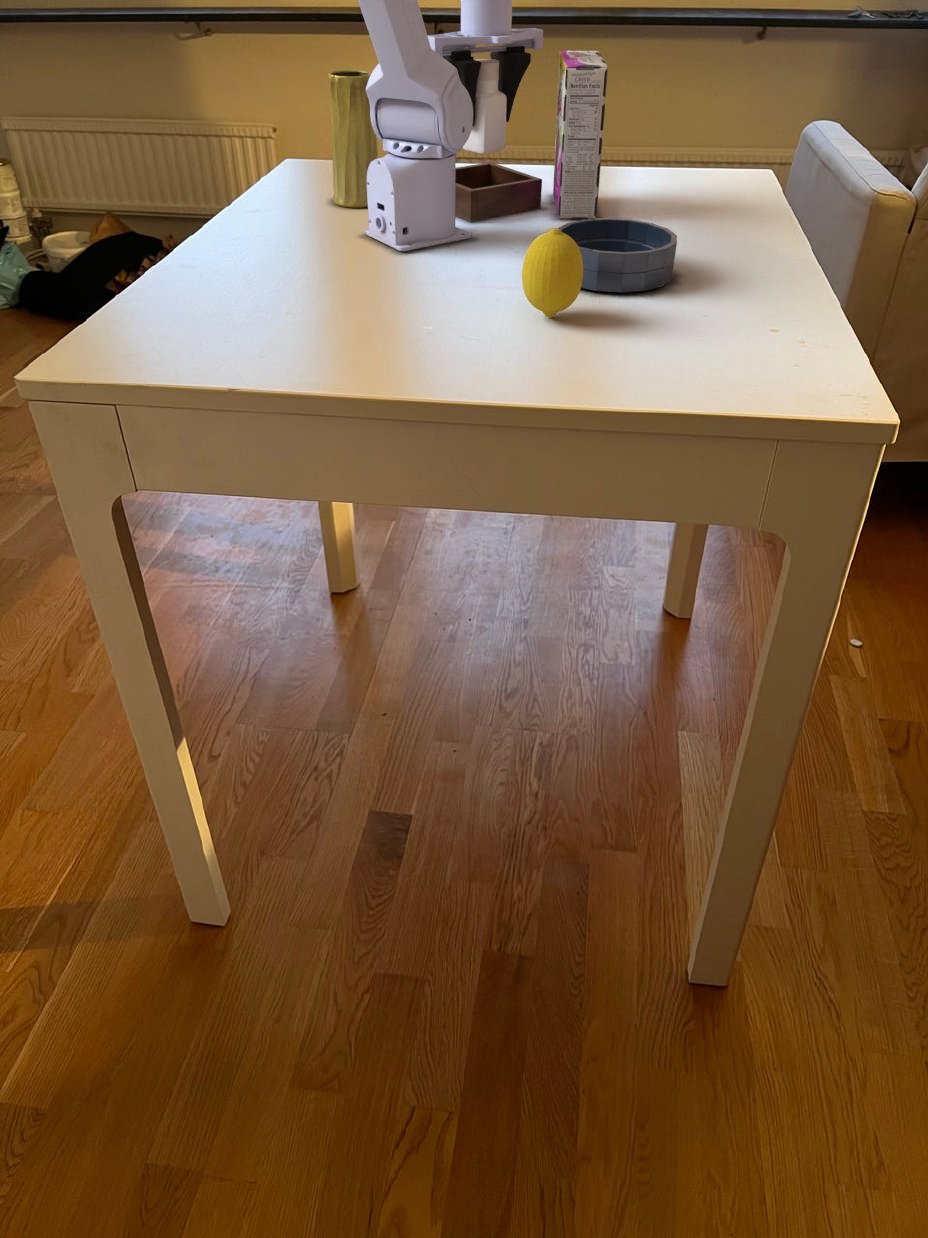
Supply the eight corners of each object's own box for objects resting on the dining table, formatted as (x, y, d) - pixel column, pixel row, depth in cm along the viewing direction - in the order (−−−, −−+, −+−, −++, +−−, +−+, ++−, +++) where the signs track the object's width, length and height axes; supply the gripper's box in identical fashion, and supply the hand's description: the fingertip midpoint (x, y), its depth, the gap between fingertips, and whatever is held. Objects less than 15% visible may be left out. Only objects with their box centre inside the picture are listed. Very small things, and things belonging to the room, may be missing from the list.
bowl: (606, 303, 93) (610, 261, 90) (529, 269, 101) (531, 229, 98) (696, 280, 98) (702, 239, 96) (616, 249, 106) (620, 211, 104)
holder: (470, 222, 114) (471, 191, 112) (422, 202, 121) (422, 172, 119) (540, 209, 119) (542, 178, 117) (490, 190, 126) (491, 161, 124)
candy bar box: (550, 195, 124) (558, 49, 114) (588, 196, 124) (600, 49, 114) (555, 220, 115) (565, 63, 105) (597, 220, 115) (610, 64, 105)
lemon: (531, 330, 87) (536, 239, 82) (512, 309, 91) (516, 221, 86) (588, 325, 88) (596, 234, 83) (567, 304, 92) (573, 217, 88)
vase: (351, 210, 118) (343, 78, 109) (324, 200, 122) (314, 71, 113) (391, 202, 121) (386, 73, 112) (364, 192, 125) (357, 67, 116)
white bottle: (460, 150, 116) (460, 60, 110) (483, 145, 118) (485, 56, 112) (483, 156, 114) (485, 64, 108) (507, 151, 116) (510, 60, 110)
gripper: (448, -9, 100) (449, 135, 108) (561, -14, 106) (553, 122, 114) (415, -14, 105) (418, 124, 113) (525, -19, 111) (520, 112, 119)
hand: (484, 122), depth 114 cm, fingers closed on white bottle, 4 cm apart
